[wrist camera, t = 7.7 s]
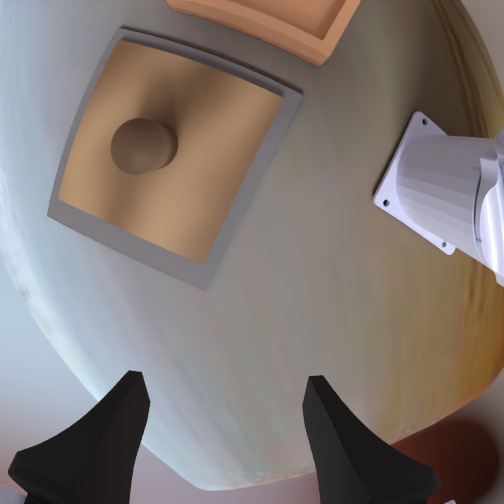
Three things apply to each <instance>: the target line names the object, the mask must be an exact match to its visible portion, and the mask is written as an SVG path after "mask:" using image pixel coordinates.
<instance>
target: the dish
mask: <svg viewBox="0 0 504 504" xmlns="http://www.w3.org/2000/svg"><path fill="white" fill-rule="evenodd" d="M360 1H361V0H167V2H168V4H169V6H170V8H171V9H172V10H173V11H177V12H181V13H185V14H189V15H192V16H196V17H199V18H202V19H206V20H209V21H212V22H215V23H218V24H221V25H224V26H227V27H230V28H232V29H235V30H238V31H240V32H243V33H246V34H248V35H251V36H253V37H256V38H258V39H260V40H263V41H265V42H267V43H270V44H272V45H274V46H277V47H279V48H281V49H283V50H285V51H287V52H289V53H291V54H293V55H296V56H298V57H300V58H301V59H303V60H305V61H307V62H309V63H311V64H313V65H315V66H317V67H320V66H321V65H322V64H323V63H324V62H325V61H326V60H327V59H328V58H329V57H330V55H331V53H332V52H333V50H334V48H335V46H336V44H337V43H338V41H339V39H340V37H341V35H342V33H343V32H344V30H345V28H346V26H347V24H348V23H349V21H350V19H351V17H352V15H353V14H354V12H355V10H356V8H357V7H358V5H359V3H360Z"/></svg>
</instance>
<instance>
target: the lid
mask: <svg viewBox="0 0 504 504" xmlns="http://www.w3.org/2000/svg"><path fill="white" fill-rule="evenodd" d="M284 99H285V98H283V97H281V96H279V95H277V94H274V93H272V92H270V91H268V90H266V89H264V88H261V87H259V86H257V85H255V84H252V83H250V82H248V81H246V80H243V79H241V78H238V77H236V76H233V75H231V74H229V73H226V72H223V71H221V70H218V69H216V68H213V67H210V66H207V65H205V64H202V63H199V62H196V61H193V60H190V59H187V58H184V57H181V56H178V55H175V54H172V53H168V52H165V51H161V50H158V49H154V48H151V47H147V46H143V45H139V44H135V43H131V42H127V41H122V40H118V42H117V44H116V45H115V47H114V49H113V51H112V53H111V55H110V57H109V59H108V61H107V63H106V65H105V67H104V69H103V71H102V73H101V75H100V77H99V79H98V81H97V83H96V86H95V88H94V90H93V93H92V95H91V97H90V100H89V102H88V104H87V107H86V109H85V112H84V114H83V117H82V120H81V122H80V125H79V128H78V131H77V133H76V136H75V139H74V142H73V145H72V148H71V151H70V155H69V158H68V161H67V165H66V168H65V172H64V175H63V179H62V183H61V187H60V191H59V195H58V199H59V200H61V201H63V202H65V203H68V204H70V205H72V206H74V207H76V208H78V209H80V210H82V211H84V212H86V213H88V214H91V215H93V216H95V217H97V218H99V219H101V220H103V221H105V222H108V223H110V224H112V225H114V226H116V227H118V228H121V229H123V230H125V231H127V232H129V233H132V234H134V235H136V236H138V237H140V238H143V239H145V240H147V241H149V242H151V243H154V244H156V245H158V246H160V247H163V248H165V249H167V250H169V251H172V252H174V253H176V254H179V255H181V256H183V257H185V258H188V259H190V260H192V261H195V262H197V263H199V264H202V265H204V264H205V262H206V260H207V258H208V256H209V253H210V251H211V249H212V247H213V244H214V242H215V240H216V238H217V236H218V234H219V231H220V229H221V227H222V225H223V223H224V221H225V218H226V216H227V214H228V212H229V210H230V208H231V206H232V203H233V201H234V199H235V197H236V195H237V193H238V191H239V189H240V187H241V185H242V182H243V180H244V178H245V176H246V174H247V172H248V170H249V168H250V166H251V164H252V162H253V160H254V158H255V156H256V154H257V152H258V150H259V148H260V146H261V144H262V142H263V140H264V138H265V136H266V134H267V132H268V130H269V128H270V126H271V124H272V122H273V120H274V118H275V116H276V114H277V112H278V110H279V108H280V106H281V105H282V103H283V101H284Z"/></svg>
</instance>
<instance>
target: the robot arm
mask: <svg viewBox="0 0 504 504" xmlns="http://www.w3.org/2000/svg"><path fill="white" fill-rule="evenodd" d="M423 119H424V121H425V125H424V124H423V122H422V121H423ZM384 200H387V204H386V205H383V202H384ZM373 202H374V203H375V204H376V205H377V206H379V207H380V208H382V209H383V210H385V211H386V212H388V213H389V214H391V215H392V216H394V217H395V218H397V219H398V220H400V221H401V222H403V223H404V224H406V225H407V226H409V227H410V228H412V229H413V230H415V231H416V232H417V233H419V234H420V235H422V236H423V237H424V238H426V239H427V240H429V241H430V242H431V243H433V244H434V245H436V246H437V247H438V248H440V249H441V250H442V251H444V252H445V253H446V254H448V255H451V254H452V253H453V252H454V250H455V248H458V249H460V250H461V251H463V252H465V253H466V254H468V255H470V256H471V257H473V258H475V259H476V260H478V261H479V262H481V263H482V264H484V265H486V266H487V267H489V268H490V269H492V270H493V271H494V273H495V275H496V280H497V283H499V284H500V285H502V286H503V287H504V125H503V126H502V127H501V129H500V131H499V133H498V134H497V135H496V136H495V138H494V139H488V138H476V137H462V136H448V135H447V134H446V133H445V132H444V131H442V130H441V129H440V128H439V127H438V126H437V125H436V124H435V123H434V122H432V121H431V120H430V119H429V118H428V117H427V116H425V115H424V114H423V113H422V112H415V113H414V114H413V116H412V118H411V120H410V122H409V125H408V127H407V129H406V131H405V133H404V135H403V138H402V140H401V142H400V144H399V146H398V148H397V150H396V152H395V154H394V157H393V159H392V161H391V163H390V165H389V167H388V169H387V171H386V173H385V175H384V177H383V179H382V181H381V183H380V184H379V186H378V188H377V190H376V192H375V194H374V196H373ZM443 242H444V244H443V246H442V243H443ZM149 407H150V399H149V396H148V392H147V389H146V385H145V382H144V378H143V375H142V372H138V371H130V370H129V371H128V372H127V373H126V374H125V375H124V376H123V377H122V378H121V379H120V381H119V382H118V383H117V384H116V385H115V386H114V387H113V388H112V389H111V390H110V391H109V392H108V393H107V395H106V396H105V397H104V398H103V399H102V400H101V401H100V402H99V403H98V404H97V405H95V407H93V408H92V409H91V410H90V411H89V412H88V413H87V414H86V415H84V416H83V417H82V418H81V419H80V420H78V421H77V422H76V423H74V424H73V425H71V426H70V427H69V428H67V429H66V430H64V431H62V432H61V433H59V434H57V435H56V436H54V437H52V438H50V439H48V440H46V441H44V442H42V443H40V444H38V445H35V446H33V447H30V448H27V449H24V450H21V451H18V452H17V453H16V455H15V457H14V459H13V461H12V463H11V465H10V468H9V469H8V474H9V476H10V477H11V478H12V479H13V480H14V481H15V482H16V483H17V484H18V485H19V486H20V487H22V488H23V489H24V490H25V491H26V492H27V493H28V495H27V497H25V496H23V495H22V494H21V493H19V492H17V491H15V490H14V489H12V488H10V487H9V486H7V485H5V484H2V487H1V489H0V504H129V500H130V490H131V481H132V475H133V468H134V464H135V459H136V456H137V452H138V449H139V446H140V443H141V440H142V436H143V433H144V430H145V427H146V423H147V419H148V414H149ZM302 407H303V416H304V423H305V428H306V432H307V436H308V440H309V443H310V447H311V451H312V454H313V458H314V462H315V466H316V471H317V477H318V484H319V492H320V502H321V504H427V503H426V499H427V498H429V497H430V496H431V495H432V494H433V493H435V492H436V491H437V490H438V489H439V487H440V485H441V483H440V481H439V479H438V476H437V474H436V472H435V471H434V469H433V468H432V467H430V466H427V465H425V464H422V463H420V462H418V461H416V460H413V459H412V458H410V457H408V456H406V455H404V454H402V453H401V452H399V451H398V450H396V449H394V448H393V447H391V446H390V445H388V444H387V443H385V442H384V441H383V440H382V439H380V438H379V437H378V436H376V435H375V434H374V433H373V432H372V431H371V430H369V429H368V428H367V427H366V426H365V425H364V424H363V423H362V422H361V421H360V420H359V419H358V418H357V417H356V416H355V415H354V414H353V413H352V412H351V410H350V409H349V408H348V407H347V406H346V405H345V403H344V402H343V401H342V400H341V399H340V397H339V396H338V395H337V394H336V392H335V391H334V390H333V388H332V387H331V386H330V384H329V383H328V381H327V380H326V379H325V377H324V376H323V375H319V376H309V378H308V382H307V387H306V392H305V396H304V401H303V405H302ZM446 504H456V503H455V501H454V500H451V501H449V502H448V503H446Z"/></svg>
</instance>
